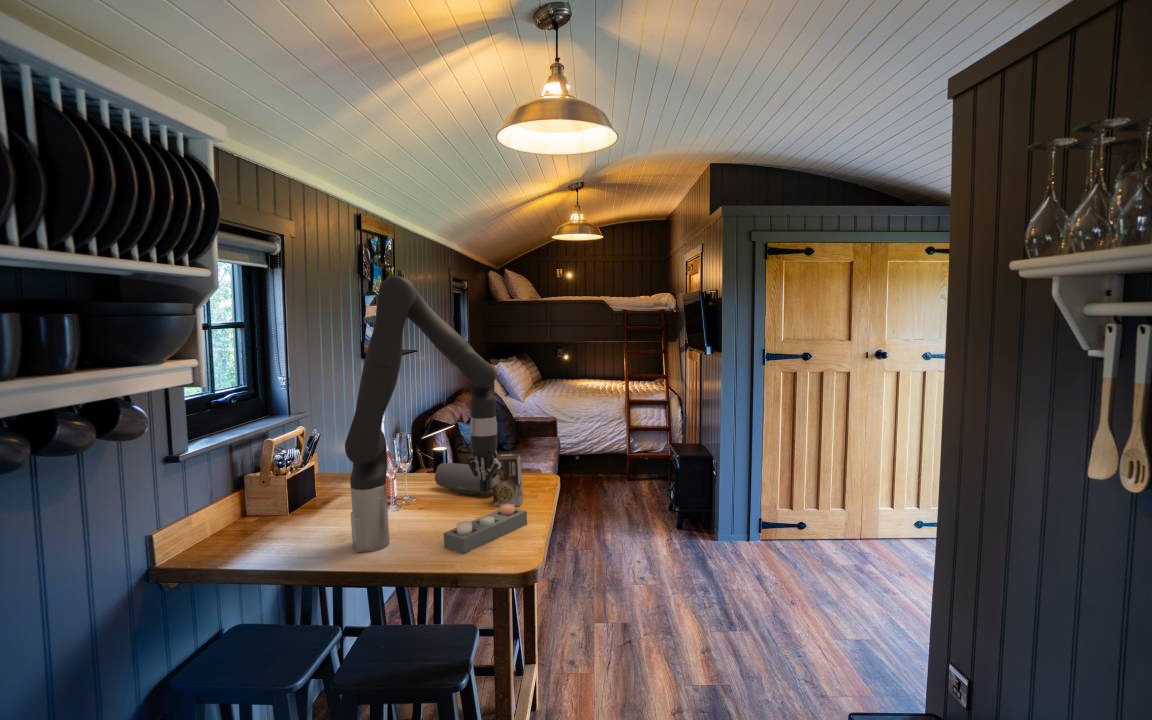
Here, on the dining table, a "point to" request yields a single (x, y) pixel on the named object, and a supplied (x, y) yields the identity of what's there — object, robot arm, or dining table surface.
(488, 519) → the sage button
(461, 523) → the cream button
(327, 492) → the dining table surface
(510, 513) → the terracotta button
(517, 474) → the coffee box
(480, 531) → the button panel
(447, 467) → the bluetooth speaker
